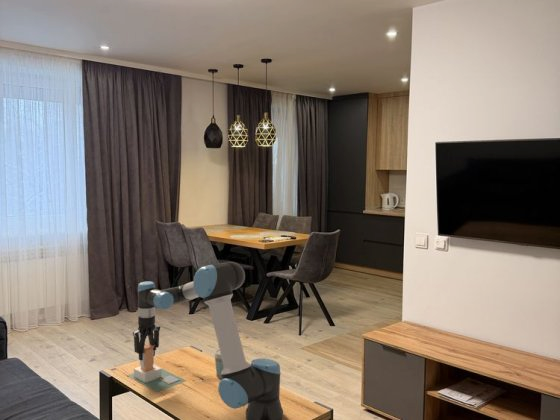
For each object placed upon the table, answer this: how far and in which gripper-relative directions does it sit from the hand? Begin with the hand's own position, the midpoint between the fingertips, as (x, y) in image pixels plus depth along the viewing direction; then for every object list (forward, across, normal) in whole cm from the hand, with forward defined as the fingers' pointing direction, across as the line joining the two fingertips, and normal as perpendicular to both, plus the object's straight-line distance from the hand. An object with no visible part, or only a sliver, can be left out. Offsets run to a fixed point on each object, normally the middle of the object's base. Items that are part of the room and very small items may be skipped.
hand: (146, 364), depth 226 cm
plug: (+5, 0, 0) cm, 5 cm away
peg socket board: (+8, -2, +4) cm, 9 cm away
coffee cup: (+8, -28, +22) cm, 36 cm away
